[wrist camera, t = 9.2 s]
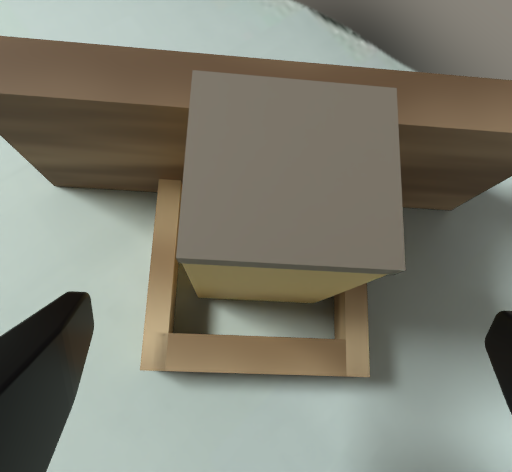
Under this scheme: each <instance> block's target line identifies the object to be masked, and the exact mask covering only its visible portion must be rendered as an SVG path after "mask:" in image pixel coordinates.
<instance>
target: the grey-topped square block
mask: <svg viewBox="0 0 512 472" xmlns="http://www.w3.org/2000/svg"><path fill="white" fill-rule="evenodd" d="M176 259H177V261H178V263H182V265H183V267H184V269H185V271H186V273H187V275H188V277H189V279H190V281H191V283H192V285H193V288H194V290H195V292H196V294H197V296H198V298H213V299H234V300H255V301H276V302H296V303H316V302H319V301H321V300H324V299H327V298H329V297H332V296H334V295H337V294H339V293H342V292H344V291H347V290H350V289H352V288H355V287H357V286H360V285H362V284H365V283H368V282H370V281H373V280H375V279H378V278H380V277H383V276H385V275H395V274H398V273H400V272H403V271H406V269H405V248H404V228H403V208H402V187H401V167H400V147H399V126H398V106H397V88H390V87H379V86H368V85H356V84H345V83H334V82H322V81H311V80H300V79H288V78H277V77H265V76H254V75H243V74H231V73H220V72H209V71H197V70H193V71H192V82H191V94H190V105H189V116H188V127H187V139H186V150H185V161H184V173H183V184H182V195H181V206H180V218H179V229H178V240H177V252H176Z"/></svg>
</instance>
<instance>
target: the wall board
mask: <svg viewBox="0 0 512 472" xmlns="http://www.w3.org/2000/svg"><path fill="white" fill-rule="evenodd" d="M193 70H197V71H209V72H220V73H231V74H243V75H254V76H265V77H277V78H288V79H300V80H311V81H322V82H334V83H345V84H356V85H368V86H379V87H390V88H397V106H398V126H399V147H400V167H401V187H402V207H405V208H421V209H437V210H453V209H454V208H456V207H458V206H460V205H461V204H463V203H465V202H467V201H468V200H470V199H472V198H474V197H476V196H477V195H479V194H481V193H483V192H484V191H486V190H488V189H490V188H492V187H493V186H495V185H497V184H499V183H500V182H502V181H504V180H506V179H508V178H509V177H511V176H512V80H501V79H490V78H478V77H467V76H456V75H455V76H454V75H444V74H432V73H421V72H409V71H398V70H386V69H375V68H363V67H352V66H340V65H329V64H317V63H306V62H294V61H283V60H271V59H260V58H248V57H237V56H225V55H214V54H202V53H191V52H179V51H168V50H156V49H145V48H133V47H122V46H110V45H99V44H87V43H76V42H64V41H53V40H41V39H30V38H18V37H7V36H0V135H1V136H2V137H3V138H4V139H5V140H6V141H7V142H8V143H9V144H10V145H11V146H12V147H13V148H15V149H16V150H17V151H18V152H19V153H20V154H21V155H22V156H23V157H24V158H25V159H26V160H27V161H28V162H29V163H30V164H32V165H33V166H34V167H35V168H36V169H37V170H38V171H39V172H40V173H41V174H42V175H43V176H44V177H45V178H46V179H47V180H49V181H50V182H51V183H52V184H53V185H54V186H64V187H80V188H96V189H113V190H129V191H145V192H158V193H157V203H156V213H155V224H154V234H153V244H152V254H151V264H150V274H149V285H148V295H147V305H146V315H145V325H144V335H143V345H142V356H141V366H140V370H149V371H182V372H216V373H249V374H282V375H315V376H349V377H370V365H369V333H368V301H367V283H365V284H362V285H360V286H357V287H355V288H352V289H350V290H347V291H344V292H342V293H339V294H337V295H334V331H335V339H318V338H291V337H264V336H237V335H210V334H182V333H173V327H174V315H175V303H176V291H177V278H178V266H179V263H178V261H177V259H176V252H177V240H178V229H179V218H180V206H181V195H182V184H183V173H184V161H185V150H186V139H187V127H188V116H189V105H190V94H191V82H192V71H193Z"/></svg>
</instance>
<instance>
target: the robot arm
mask: <svg viewBox="0 0 512 472" xmlns="http://www.w3.org/2000/svg"><path fill="white" fill-rule="evenodd" d="M93 330H94V319H93V312H92V305H91V299H90V296H89V294H88V293H87V292H73V291H71V292H67V293H65V294H63V295H62V296H60V297H59V298H57V299H56V300H54V301H53V302H51V303H50V304H48V305H47V306H45V307H44V308H42V309H41V310H39V311H38V312H36V313H35V314H33V315H32V316H30V317H29V318H27V319H26V320H24V321H23V322H21V323H20V324H18V325H17V326H15V327H14V328H12V329H11V330H9V331H8V332H6V333H5V334H3V335H2V336H0V472H46V471H47V468H48V466H49V463H50V461H51V458H52V456H53V453H54V451H55V448H56V446H57V443H58V441H59V438H60V436H61V433H62V431H63V428H64V426H65V423H66V421H67V418H68V416H69V413H70V411H71V408H72V406H73V403H74V400H75V397H76V394H77V390H78V387H79V383H80V379H81V376H82V372H83V368H84V365H85V361H86V357H87V353H88V350H89V346H90V342H91V339H92V335H93ZM485 348H486V351H487V353H488V356H489V358H490V361H491V364H492V366H493V369H494V371H495V374H496V377H497V379H498V382H499V385H500V387H501V390H502V392H503V395H504V398H505V400H506V403H507V405H508V407H509V410H510V412H511V414H512V311H500V312H499V313H498V314H497V315H496V316H495V319H494V321H493V323H492V325H491V327H490V329H489V331H488V333H487V335H486V338H485Z"/></svg>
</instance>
